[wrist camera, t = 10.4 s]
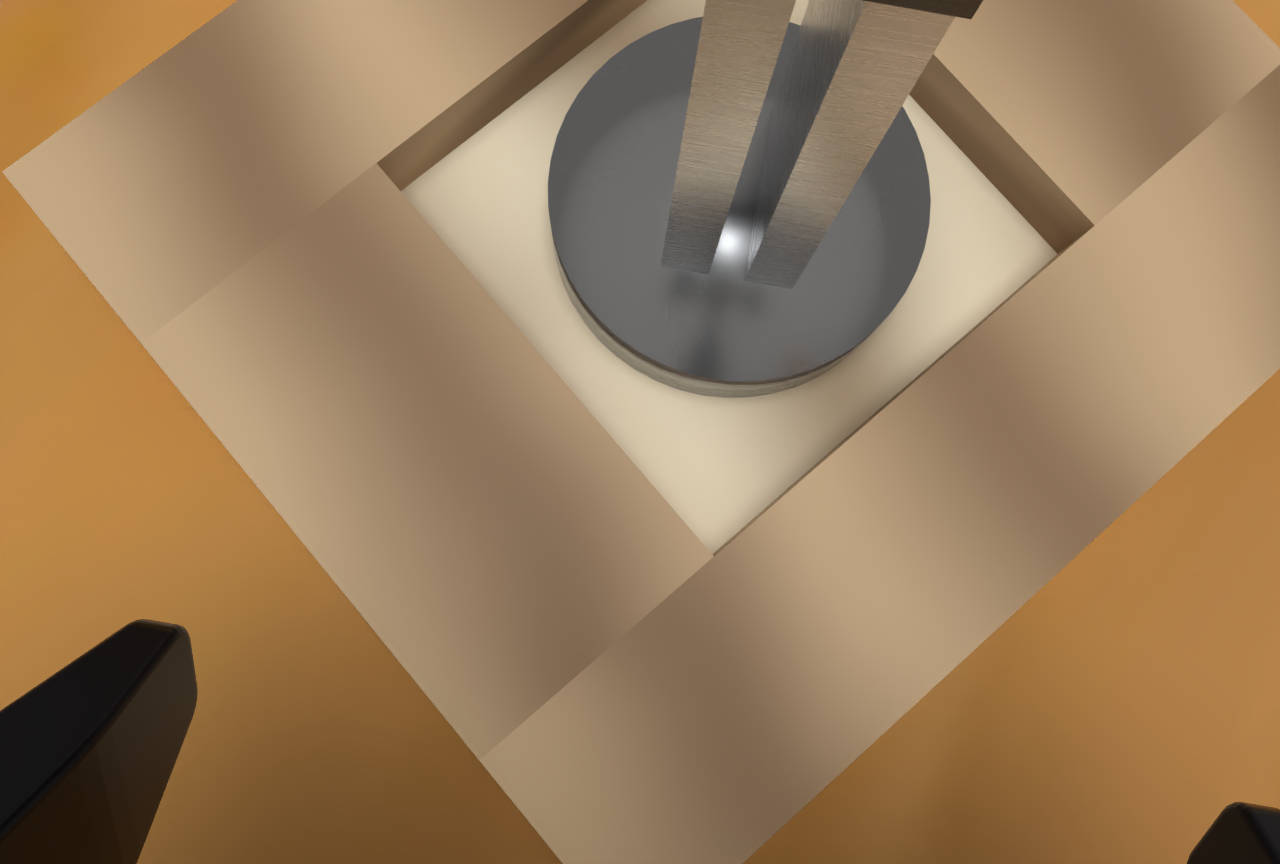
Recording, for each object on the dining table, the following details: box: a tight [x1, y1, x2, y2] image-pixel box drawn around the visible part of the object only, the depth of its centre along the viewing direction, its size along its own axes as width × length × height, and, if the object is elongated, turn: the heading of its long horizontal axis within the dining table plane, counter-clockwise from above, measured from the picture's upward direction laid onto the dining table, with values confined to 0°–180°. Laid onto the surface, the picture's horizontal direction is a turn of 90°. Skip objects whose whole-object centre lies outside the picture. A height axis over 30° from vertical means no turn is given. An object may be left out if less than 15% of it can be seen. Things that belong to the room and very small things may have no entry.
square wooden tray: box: [2, 0, 1280, 864], centre depth 19 cm, size 18×16×2 cm
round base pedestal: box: [548, 0, 983, 398], centre depth 13 cm, size 6×6×14 cm
